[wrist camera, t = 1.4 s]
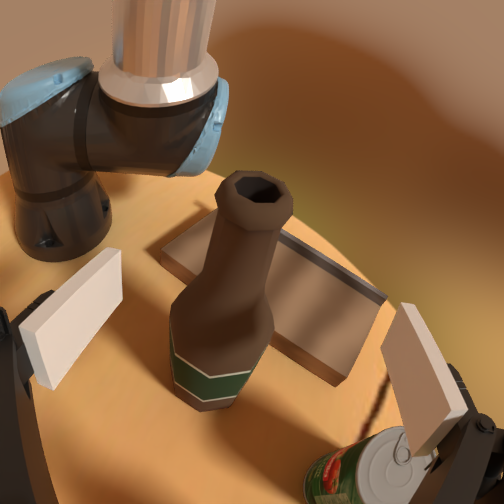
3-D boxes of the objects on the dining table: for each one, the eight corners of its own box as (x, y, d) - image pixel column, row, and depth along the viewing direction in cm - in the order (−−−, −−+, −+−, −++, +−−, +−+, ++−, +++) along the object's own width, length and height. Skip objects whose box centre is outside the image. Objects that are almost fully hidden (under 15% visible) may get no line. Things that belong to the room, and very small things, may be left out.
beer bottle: (178, 339, 34) (197, 132, 17) (248, 355, 35) (333, 167, 18) (161, 404, 29) (144, 221, 12) (238, 421, 29) (346, 270, 12)
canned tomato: (359, 524, 22) (427, 522, 15) (291, 509, 23) (343, 511, 15) (378, 460, 28) (444, 436, 20) (316, 442, 29) (370, 415, 21)
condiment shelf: (160, 264, 40) (160, 240, 37) (221, 218, 49) (226, 194, 46) (335, 387, 34) (353, 372, 30) (372, 314, 42) (388, 295, 39)
